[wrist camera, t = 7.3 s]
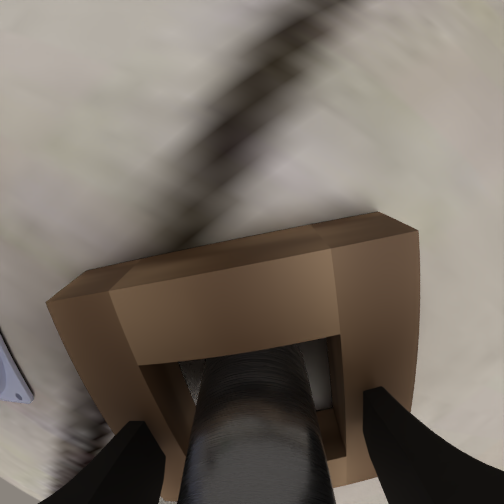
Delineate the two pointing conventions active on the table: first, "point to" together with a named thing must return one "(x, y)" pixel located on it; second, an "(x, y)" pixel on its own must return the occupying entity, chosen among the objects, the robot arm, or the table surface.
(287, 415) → the round peg
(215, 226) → the table surface
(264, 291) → the square wooden ring
